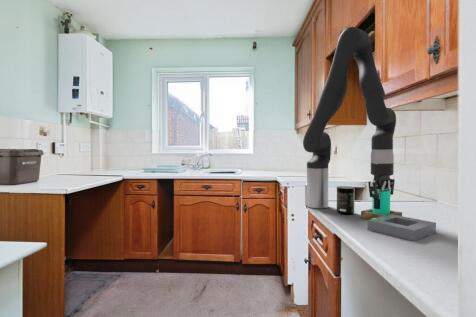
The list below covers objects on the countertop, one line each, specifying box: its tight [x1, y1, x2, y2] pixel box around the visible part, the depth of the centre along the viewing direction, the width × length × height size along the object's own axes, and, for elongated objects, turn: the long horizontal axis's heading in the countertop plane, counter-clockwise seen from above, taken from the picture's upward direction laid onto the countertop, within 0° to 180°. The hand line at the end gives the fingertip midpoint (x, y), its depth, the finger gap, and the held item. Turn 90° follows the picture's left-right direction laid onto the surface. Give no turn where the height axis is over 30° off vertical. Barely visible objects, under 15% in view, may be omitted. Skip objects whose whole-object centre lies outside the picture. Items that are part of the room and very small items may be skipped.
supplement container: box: [336, 185, 356, 216], centre depth 115 cm, size 7×7×10 cm
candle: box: [371, 190, 391, 215], centre depth 106 cm, size 6×6×12 cm
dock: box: [367, 214, 437, 242], centre depth 91 cm, size 14×14×4 cm
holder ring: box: [360, 208, 403, 220], centre depth 106 cm, size 10×10×2 cm
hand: (381, 207), depth 106 cm, fingers closed on candle, 5 cm apart
